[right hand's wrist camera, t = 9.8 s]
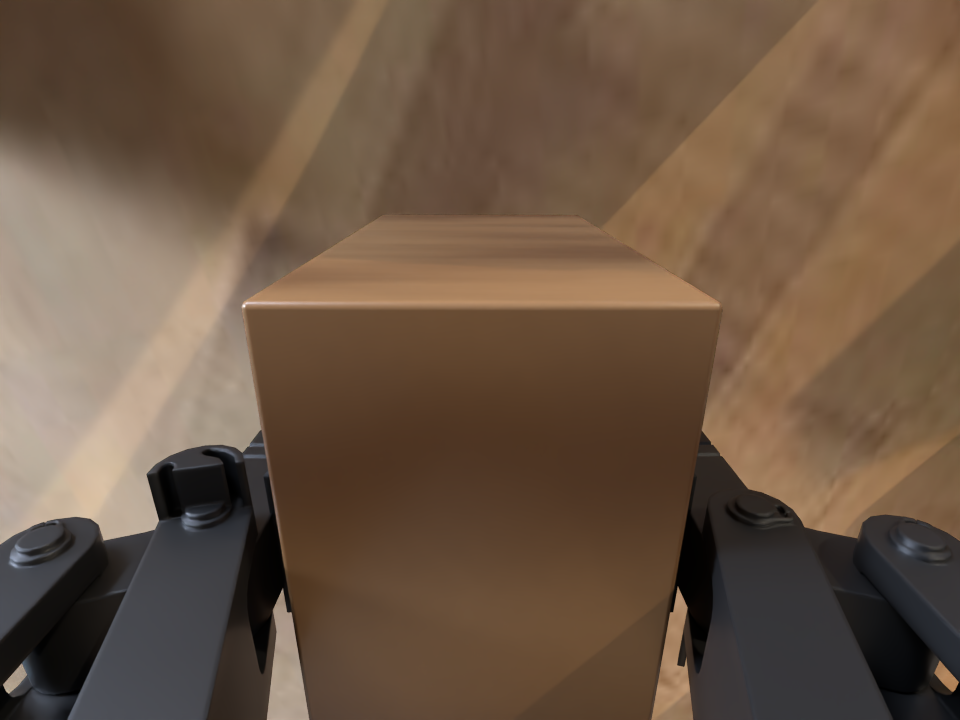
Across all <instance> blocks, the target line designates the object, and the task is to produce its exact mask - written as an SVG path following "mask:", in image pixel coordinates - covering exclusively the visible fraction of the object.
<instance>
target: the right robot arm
mask: <svg viewBox="0 0 960 720" xmlns="http://www.w3.org/2000/svg"><path fill="white" fill-rule="evenodd" d="M147 478H148V481H149V485H150V489H151V492H152V496H153V500H154V503H155V507H156V511H157V514H158V518H159V522H158V525H157V527H156V529H155V530H153V531H149V532H145V533H140V534H135V535H130V536H125V537H120V538H115V539H110V540H105V541H103V537H102V534H101V531H100V528H99V525H98V524H97V523H95V522H94V521H92V520H91V519H87V518H80V517H71V518H63V519H55V520H50V521H47V522H46V523H44V522H43V523H40V524H37V525H34V526H32V527H30V528H29V529H27V530H25V531H23V532H20V533H18V534H16V535H14V536H12V537H11V538H9V539H8V540H7V541H5V542H4V543H2V544H1V545H0V720H267V712H268V703H269V694H270V685H271V676H272V667H273V658H274V649H275V640H276V626H275V620H274V614H273V608H274V606H275V604H276V602H277V599H278V597H279V595H280V593H281V591H282V588H283V591H284V596H285V602H286V608H287V612H292V611H291V605H290V598H289V592H288V586H287V580H286V574H285V568H284V562H283V556H282V550H281V544H280V538H279V532H278V526H277V520H276V514H275V508H274V502H273V496H272V490H271V483H270V477H269V471H268V465H267V459H266V453H265V447H264V441H263V435H262V430H260V432H259V433H258V434H257V436H256V437H255V438H254V439H253V441H252V442H251V443H250V447H247V448H246V450H245V451H244V452H243V453H242V452H240V451H239V450H238V449H236V448H234V447H229V446H224V445H208V446H201V447H196V448H191V449H187V450H184V451H182V452H179V453H176V454H174V455H171V456H169V457H167V458H166V459H164V460H162V461H161V462H159V463H157V464H156V465H155V466H154V467H153V468H152V469H151V470H150V471H149V472H148V473H147ZM677 587H679V589H680V592H681V594H682V596H683V598H684V600H685V603H686V605H687V607H688V609H687V614H686V620H685V625H684V630H683V635H682V641H681V646H680V651H679V657H678V663H677V665H678V666H683V667H684V666H685V661H686V657H687V666H688V675H689V684H690V693H691V702H692V711H693V720H960V541H959V540H957V539H956V538H954V537H953V536H951V535H950V534H948V533H946V532H944V531H942V530H940V529H937V528H935V527H933V526H931V525H930V524H928V523H925V522H923V521H920V520H915V519H912V518H908V517H901V516H892V515H879V516H872V517H870V518H868V519H867V520H866V521H864V522H863V523H862V527H861V530H860V533H859V536H858V539H857V538H852V537H847V536H842V535H837V534H832V533H827V532H822V531H817V530H813V529H809V528H805V527H804V526H803V524H802V521H801V520H800V518H799V517H798V516H797V515H796V513H795V512H794V511H793V509H791V508H790V507H788V506H787V505H786V504H784V503H783V502H781V501H780V500H778V499H776V498H773V497H771V496H769V495H767V494H764V493H762V492H757V491H753V490H749V489H748V488H747V487H746V486H745V485H744V483H743V482H742V481H741V480H740V478H739V477H738V476H737V475H736V473H735V472H734V471H733V470H732V468H731V467H730V466H729V465H728V463H727V462H726V461H725V459H724V458H723V457H722V456H720V453H719V452H718V451H717V449H716V448H715V447H714V446H713V445H711V442H710V441H709V439H708V438H707V437H706V435H705V434H704V433H703V432H702V431H701V437H700V442H699V448H698V454H697V460H696V465H695V471H694V477H693V483H692V488H691V494H690V500H689V506H688V511H687V517H686V523H685V529H684V534H683V540H682V546H681V552H680V557H679V563H678V569H677V575H676V580H675V586H674V592H673V598H672V603H671V609H670V612H673V610H674V604H675V598H676V593H677ZM939 661H941V662H942V663H943V664H944V666H945V667H946V668H947V669H948V670H949V671H950V672H951V674H952V675H953V676H954V677H955V678H956V679H957V680H958V681H959V683H958V685H957V688H956V690H955V691H954V692H951V691H950V690H949V689H948V688H947V687H946V686H945V685H944V684H943V683H942V682H941V681H940V680H939V678H938V677H937V676H936V675H935V674H934V672H935V670H936V668H937V665H938V663H939ZM21 663H22V664H23V666H24V669H25V671H26V673H27V676H26V677H25V678H24V680H23V681H22V682H21V683H20V684H19V686H18V687H16V688H15V689H14V690H13V691H12V692H11V693H9V694H8V693H7V692H6V691H5V689H4V686H3V684H4V683H5V682H6V680H7V679H8V678H9V677H10V676H11V675H12V674H13V672H14V671H15V670H16V669H17V668H18V667H19V666H20V664H21Z"/></svg>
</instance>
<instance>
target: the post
mask: <svg viewBox="0 0 960 720" xmlns="http://www.w3.org/2000/svg"><path fill="white" fill-rule="evenodd" d="M242 314H243V320H244V326H245V332H246V338H247V344H248V350H249V356H250V362H251V368H252V375H253V381H254V387H255V393H256V399H257V405H258V411H259V417H260V423H261V429H262V435H263V441H264V447H265V453H266V459H267V465H268V471H269V477H270V483H271V490H272V496H273V502H274V508H275V514H276V520H277V526H278V532H279V538H280V544H281V550H282V556H283V562H284V568H285V574H286V580H287V586H288V592H289V598H290V605H291V611H292V617H293V623H294V629H295V635H296V641H297V647H298V653H299V659H300V665H301V671H302V677H303V683H304V689H305V695H306V701H307V707H308V713H309V720H651V718H652V713H653V707H654V701H655V695H656V690H657V684H658V678H659V672H660V667H661V661H662V655H663V649H664V644H665V638H666V632H667V626H668V621H669V615H670V609H671V603H672V598H673V592H674V586H675V580H676V575H677V569H678V563H679V557H680V552H681V546H682V540H683V534H684V529H685V523H686V517H687V511H688V506H689V500H690V494H691V488H692V483H693V477H694V471H695V465H696V460H697V454H698V448H699V442H700V437H701V431H702V425H703V419H704V414H705V408H706V402H707V396H708V391H709V385H710V379H711V373H712V368H713V362H714V356H715V350H716V345H717V339H718V333H719V327H720V322H721V316H722V305H721V303H720V302H718V301H717V300H715V299H714V298H712V297H710V296H709V295H707V294H705V293H704V292H702V291H700V290H699V289H697V288H696V287H694V286H692V285H691V284H689V283H687V282H686V281H684V280H682V279H681V278H679V277H678V276H676V275H674V274H673V273H671V272H669V271H668V270H666V269H664V268H663V267H661V266H660V265H658V264H656V263H655V262H653V261H651V260H650V259H648V258H646V257H645V256H643V255H642V254H640V253H638V252H637V251H635V250H633V249H632V248H630V247H628V246H627V245H625V244H624V243H622V242H620V241H619V240H617V239H615V238H614V237H612V236H610V235H609V234H607V233H606V232H604V231H602V230H601V229H599V228H597V227H596V226H594V225H592V224H591V223H589V222H588V221H586V220H584V219H583V218H581V217H579V216H577V215H382V216H380V217H379V218H377V219H376V220H374V221H372V222H371V223H369V224H368V225H366V226H364V227H363V228H361V229H360V230H358V231H356V232H355V233H353V234H352V235H350V236H348V237H347V238H345V239H343V240H342V241H340V242H339V243H337V244H335V245H334V246H332V247H331V248H329V249H327V250H326V251H324V252H323V253H321V254H319V255H318V256H316V257H315V258H313V259H311V260H310V261H308V262H307V263H305V264H303V265H302V266H300V267H299V268H297V269H295V270H294V271H292V272H291V273H289V274H287V275H286V276H284V277H283V278H281V279H279V280H278V281H276V282H275V283H273V284H271V285H270V286H268V287H267V288H265V289H263V290H262V291H260V292H259V293H257V294H255V295H254V296H252V297H251V298H249V299H247V300H246V301H244V302H243V305H242Z"/></svg>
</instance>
